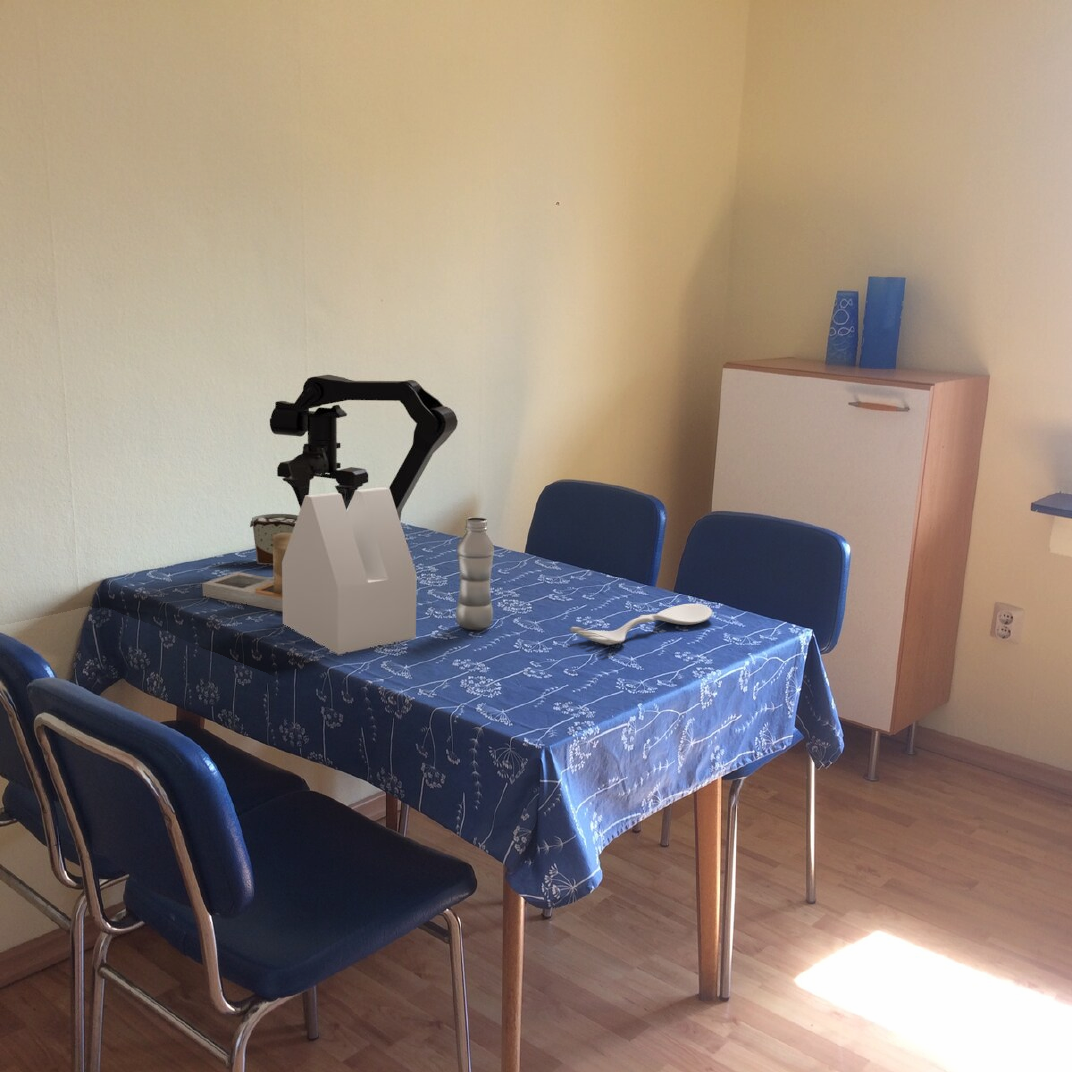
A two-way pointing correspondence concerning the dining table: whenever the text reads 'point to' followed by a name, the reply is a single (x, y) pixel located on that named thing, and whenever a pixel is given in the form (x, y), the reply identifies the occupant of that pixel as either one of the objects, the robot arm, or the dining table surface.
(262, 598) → the compartment tray
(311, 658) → the dining table surface
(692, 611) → the spoon
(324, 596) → the white notched block
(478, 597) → the plastic bottle
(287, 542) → the wooden peg
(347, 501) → the robot arm
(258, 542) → the food container
